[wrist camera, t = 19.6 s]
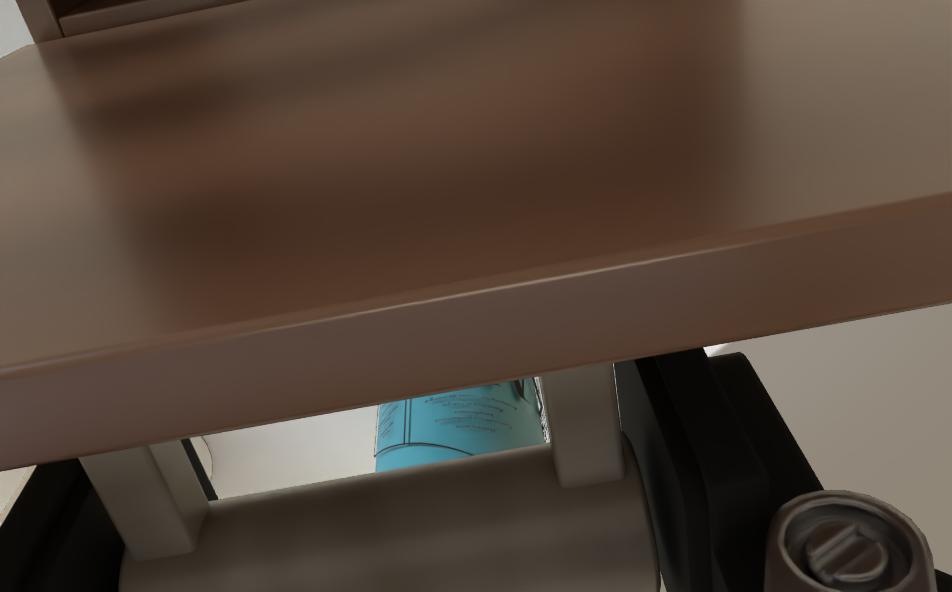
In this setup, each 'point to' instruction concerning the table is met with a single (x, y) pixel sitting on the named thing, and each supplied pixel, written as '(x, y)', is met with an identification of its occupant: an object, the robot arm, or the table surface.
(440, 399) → the beverage bottle
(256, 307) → the box lid
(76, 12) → the box
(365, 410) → the table surface
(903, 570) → the robot arm
